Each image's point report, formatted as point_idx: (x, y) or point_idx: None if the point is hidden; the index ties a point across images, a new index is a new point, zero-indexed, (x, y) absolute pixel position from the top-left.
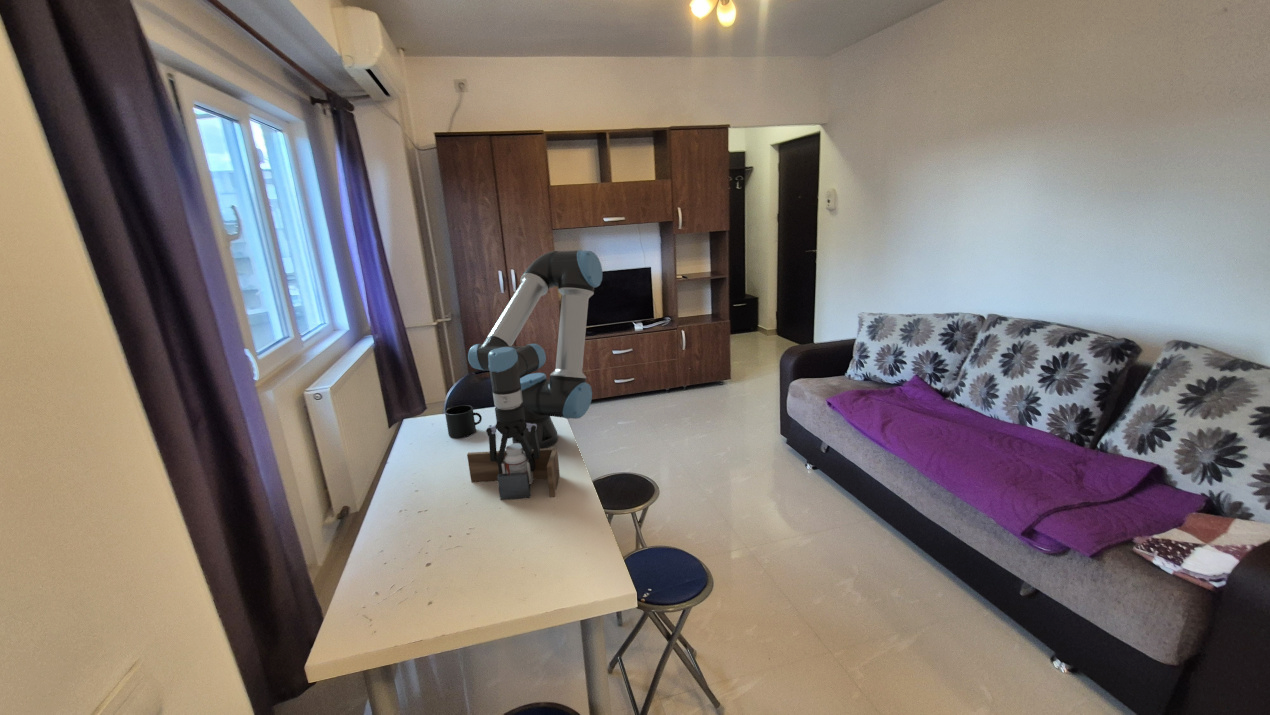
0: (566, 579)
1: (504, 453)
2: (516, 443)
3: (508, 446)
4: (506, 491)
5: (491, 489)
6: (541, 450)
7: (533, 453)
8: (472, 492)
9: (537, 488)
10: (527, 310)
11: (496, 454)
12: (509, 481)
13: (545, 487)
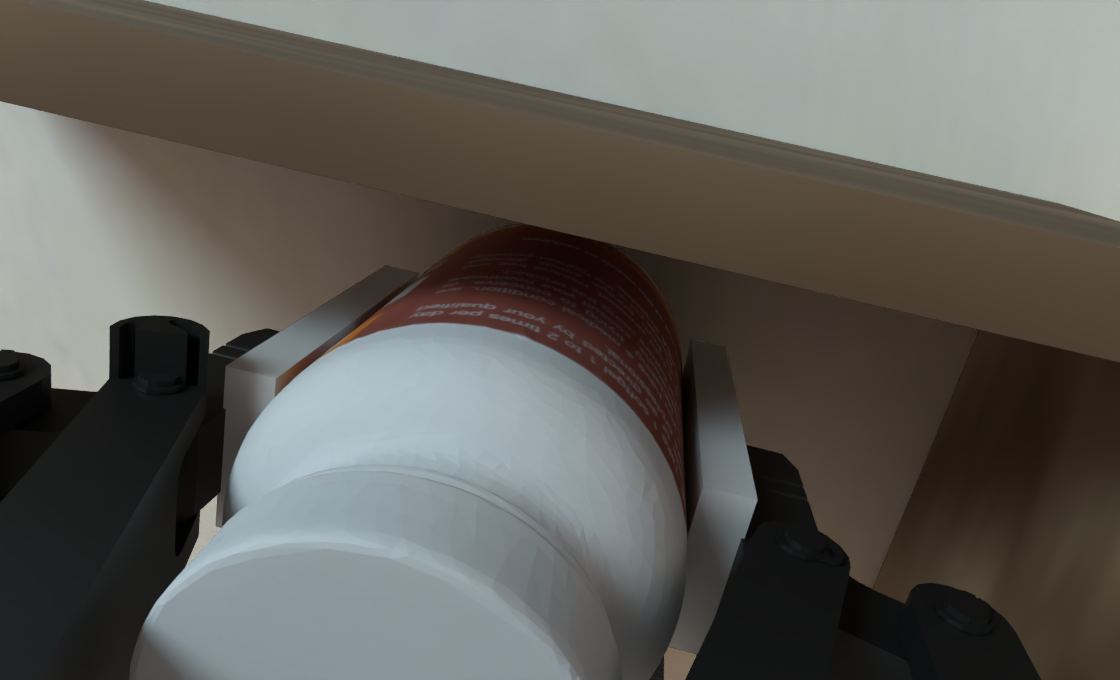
0: None
1: (189, 135)
2: (398, 573)
3: (179, 660)
4: None
5: (247, 264)
6: (1068, 347)
7: (844, 595)
8: (61, 260)
9: (750, 419)
10: None
11: (10, 413)
12: None
13: (842, 429)
